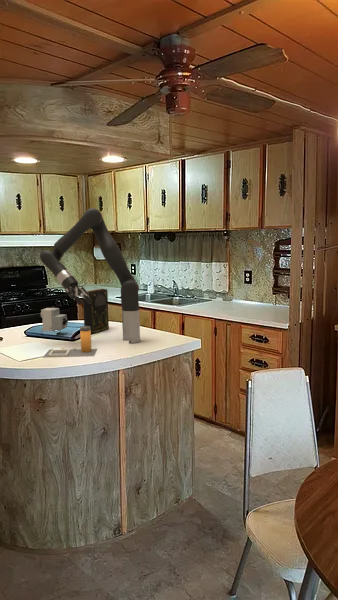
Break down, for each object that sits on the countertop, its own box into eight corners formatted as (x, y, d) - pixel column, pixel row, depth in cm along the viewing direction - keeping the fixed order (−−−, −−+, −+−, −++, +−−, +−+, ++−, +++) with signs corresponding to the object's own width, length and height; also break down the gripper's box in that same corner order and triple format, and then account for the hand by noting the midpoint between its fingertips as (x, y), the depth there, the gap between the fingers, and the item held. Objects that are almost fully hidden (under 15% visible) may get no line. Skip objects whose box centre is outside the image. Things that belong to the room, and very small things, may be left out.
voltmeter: (93, 334, 268) (91, 291, 265) (82, 332, 273) (80, 291, 269) (110, 329, 282) (109, 288, 278) (99, 328, 286) (98, 288, 282)
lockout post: (92, 349, 228) (91, 325, 226) (90, 352, 223) (89, 327, 221) (81, 349, 228) (80, 326, 226) (80, 352, 223) (79, 328, 221)
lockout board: (97, 351, 230) (97, 346, 230) (94, 359, 216) (94, 353, 216) (49, 352, 229) (48, 347, 229) (42, 360, 215) (42, 355, 215)
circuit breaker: (64, 336, 265) (63, 310, 263) (41, 335, 268) (40, 309, 266) (70, 333, 273) (68, 308, 270) (47, 332, 276) (46, 307, 273)
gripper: (63, 274, 230) (82, 298, 225) (79, 275, 243) (98, 297, 238) (54, 285, 232) (73, 309, 228) (71, 285, 245) (89, 307, 241)
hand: (85, 303), depth 233 cm, fingers open, 8 cm apart
